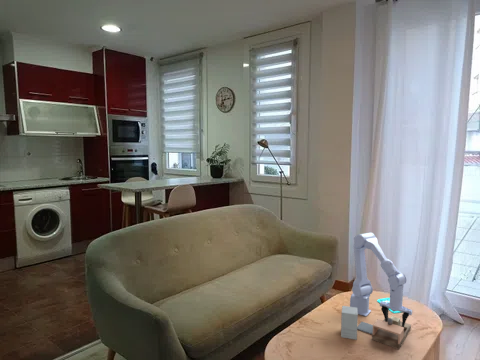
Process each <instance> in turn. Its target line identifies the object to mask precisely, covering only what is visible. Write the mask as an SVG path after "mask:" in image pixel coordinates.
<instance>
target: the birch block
mask: <svg viewBox="0 0 480 360" xmlns="http://www.w3.org/2000/svg"><path fill="white" fill-rule="evenodd" d="M390 318H391V319H392V324H395V325H398V326H400V321H401V318H400V317H397V316H395V315H394V316H393V315H391V317H390Z"/></svg>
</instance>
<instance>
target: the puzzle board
mask: <svg viewBox="0 0 480 360" xmlns="http://www.w3.org/2000/svg"><path fill="white" fill-rule="evenodd" d="M382 321H385V318H384V319H383V320H382ZM387 322H388V321H387ZM400 326H401V327H402V321H401V320H400ZM411 329H412V324H410V323H407V322H405V325H404V335H403V339H402V341H401V342H400V344H398V335H397V334H394V333H391V332H388V331H385V330H382V329H378V330H377V332H376V333H375V334H374V335H371V340H372V341H375V342H378V343H381V344H384V345H386V346H390V347H392V348H394V349H397V350H400V349H401V347H402V345H403V344H404V342H405V339H406V338H407V336H408V335H409V332H410V331H411Z"/></svg>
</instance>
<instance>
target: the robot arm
mask: <svg viewBox="0 0 480 360" xmlns="http://www.w3.org/2000/svg"><path fill="white" fill-rule="evenodd" d="M353 240H354V243H353V253H354V254H353V255H354V256H353V257H354V265H355V266H354V267H355V277H356V279H354V281H353V282H352V289H351V291H352V293H351V294H350V295H351V296H350V298H349V307H355V308H357V310H358V315H360V316H363V317H368V315H369V314H370V313H371V312H372V309H370V297H371V294H373V290H374V289H373V285H372V284H371V283H372V281H370V280H369V279H368V274H367V272H368V271H367V263H366V262H367V261H366V253H365V251H366V249H368V250H370V251H372V252H373V254H374V255H375V257H376V258H377V259H378V261H380V268H382V270H383V272H384V273H385V275H386V276H387V282H388V284H389V298H390V303H388V302H382V301H381V302H380V303H379V307H381V308H380V311H381V313H383V317H384V319H385V322H387V321H388V318H389V308H390V309H391V310H393V311H400V312H401V313H402V314H401V319H402V321H401V322H402V327H404V325H405V323H407V322H406V321H407V319H408V317H409V316H412V315H413V309H409V308H408V307H405V306H403V301H404V300H403V298H404V285H405V284H406V283H407V278H406V275H405V274H404V273H403V272H401V271H400V270H399V269H398V268H397V267H396V265H395V264H394V262H393V261H392V260H391V259H388V258H387V256H386V255H385V253H384V251H383V249H382V247H381V246H380V244H379V242H378V238H377V236H376V235H375V234H374V233H373V232H371V231H369V232H365V233H358V234H356V235H354V237H353Z"/></svg>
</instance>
